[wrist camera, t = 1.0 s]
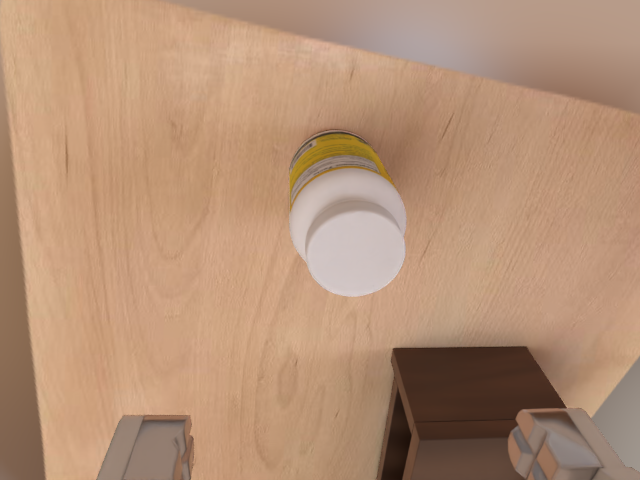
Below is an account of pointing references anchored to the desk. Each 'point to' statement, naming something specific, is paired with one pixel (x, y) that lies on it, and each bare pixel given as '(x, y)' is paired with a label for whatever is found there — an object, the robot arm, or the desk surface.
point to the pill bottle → (345, 214)
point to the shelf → (459, 412)
